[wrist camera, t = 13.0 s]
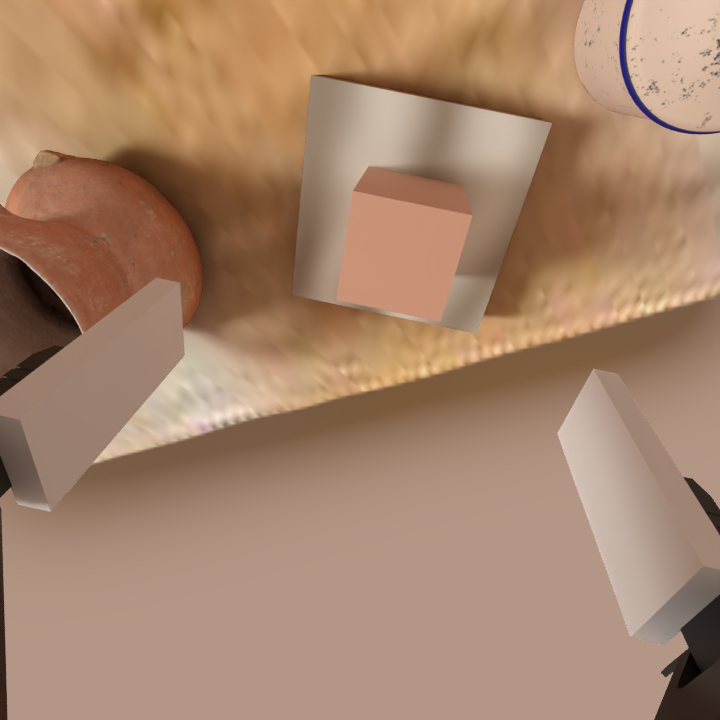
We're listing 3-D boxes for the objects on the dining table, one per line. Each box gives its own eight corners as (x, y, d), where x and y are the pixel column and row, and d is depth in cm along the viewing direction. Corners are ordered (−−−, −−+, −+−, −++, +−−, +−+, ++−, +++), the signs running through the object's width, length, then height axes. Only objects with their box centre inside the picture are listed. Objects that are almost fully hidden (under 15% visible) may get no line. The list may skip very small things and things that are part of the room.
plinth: (301, 279, 36) (291, 295, 33) (321, 74, 28) (311, 74, 26) (473, 315, 36) (476, 333, 33) (541, 118, 28) (552, 123, 26)
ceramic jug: (-4, 143, 33) (-242, 189, 22) (174, 117, 31) (12, 153, 19) (103, 349, 43) (-22, 459, 31) (245, 343, 40) (167, 460, 28)
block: (353, 257, 31) (336, 299, 25) (368, 166, 28) (352, 190, 22) (437, 275, 31) (440, 321, 25) (463, 185, 28) (472, 215, 22)
